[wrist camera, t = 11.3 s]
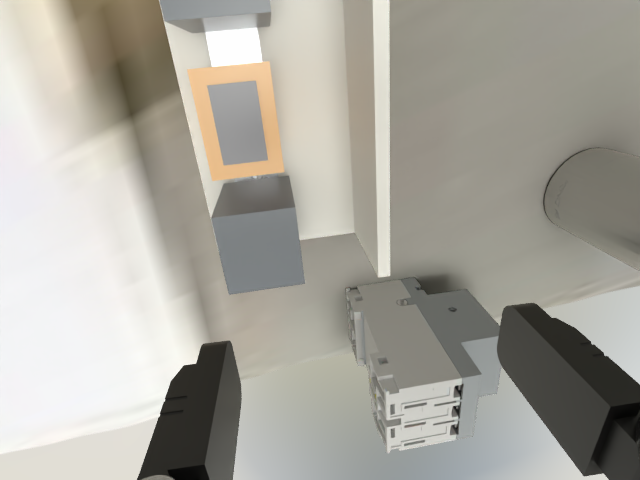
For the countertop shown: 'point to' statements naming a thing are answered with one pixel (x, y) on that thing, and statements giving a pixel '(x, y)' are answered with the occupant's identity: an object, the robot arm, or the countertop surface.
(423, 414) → the circuit breaker
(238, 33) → the rail
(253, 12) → the block
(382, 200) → the panel
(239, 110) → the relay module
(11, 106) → the countertop surface
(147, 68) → the countertop surface
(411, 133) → the countertop surface
